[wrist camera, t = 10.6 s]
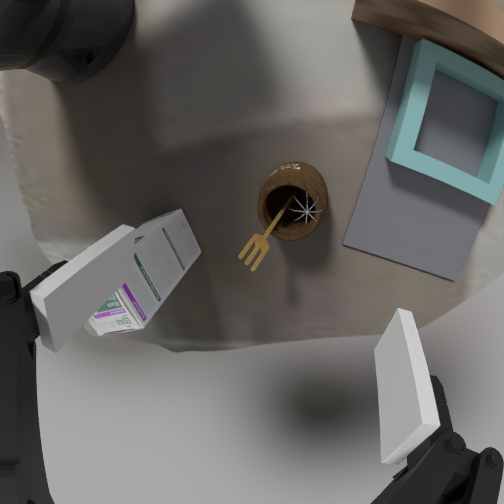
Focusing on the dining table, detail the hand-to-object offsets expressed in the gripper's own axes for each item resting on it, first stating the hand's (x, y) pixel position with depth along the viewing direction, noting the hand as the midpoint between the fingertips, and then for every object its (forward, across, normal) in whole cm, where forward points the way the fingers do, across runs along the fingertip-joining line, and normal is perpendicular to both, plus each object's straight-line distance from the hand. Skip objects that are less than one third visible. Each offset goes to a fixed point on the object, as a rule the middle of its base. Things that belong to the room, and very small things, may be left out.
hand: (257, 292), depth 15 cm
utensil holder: (+19, 0, 0) cm, 19 cm away
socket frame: (+19, +13, +12) cm, 26 cm away
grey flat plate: (+19, +13, +7) cm, 24 cm away
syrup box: (+19, -12, -9) cm, 24 cm away
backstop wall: (+19, +13, +20) cm, 30 cm away
